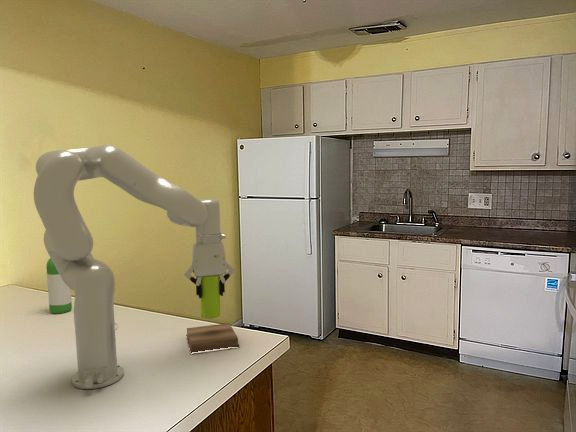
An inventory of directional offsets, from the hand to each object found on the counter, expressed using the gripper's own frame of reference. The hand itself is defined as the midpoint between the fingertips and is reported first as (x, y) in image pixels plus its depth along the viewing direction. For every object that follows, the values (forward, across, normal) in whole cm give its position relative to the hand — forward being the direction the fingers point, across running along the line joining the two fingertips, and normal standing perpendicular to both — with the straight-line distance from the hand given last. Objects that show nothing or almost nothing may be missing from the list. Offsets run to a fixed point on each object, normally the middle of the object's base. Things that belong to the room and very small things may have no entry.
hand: (210, 295), depth 139 cm
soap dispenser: (+7, 0, 0) cm, 7 cm away
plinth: (+15, 0, 0) cm, 15 cm away
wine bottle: (+15, +51, -51) cm, 74 cm away
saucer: (+15, +34, -24) cm, 44 cm away
